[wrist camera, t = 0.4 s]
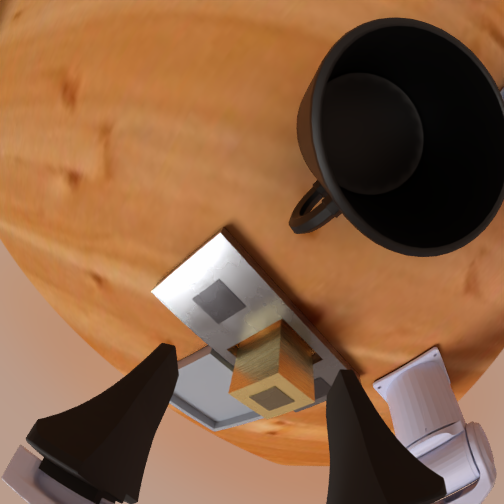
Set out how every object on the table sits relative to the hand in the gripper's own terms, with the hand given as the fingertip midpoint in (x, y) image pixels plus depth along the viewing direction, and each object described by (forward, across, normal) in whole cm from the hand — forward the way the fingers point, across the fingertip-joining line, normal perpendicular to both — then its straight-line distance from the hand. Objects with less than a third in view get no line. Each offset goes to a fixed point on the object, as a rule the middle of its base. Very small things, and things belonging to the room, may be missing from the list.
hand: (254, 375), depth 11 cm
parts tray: (+10, +4, +16) cm, 20 cm away
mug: (+10, -4, -10) cm, 15 cm away
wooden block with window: (+10, -2, +8) cm, 13 cm away
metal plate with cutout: (+10, -1, +7) cm, 12 cm away
